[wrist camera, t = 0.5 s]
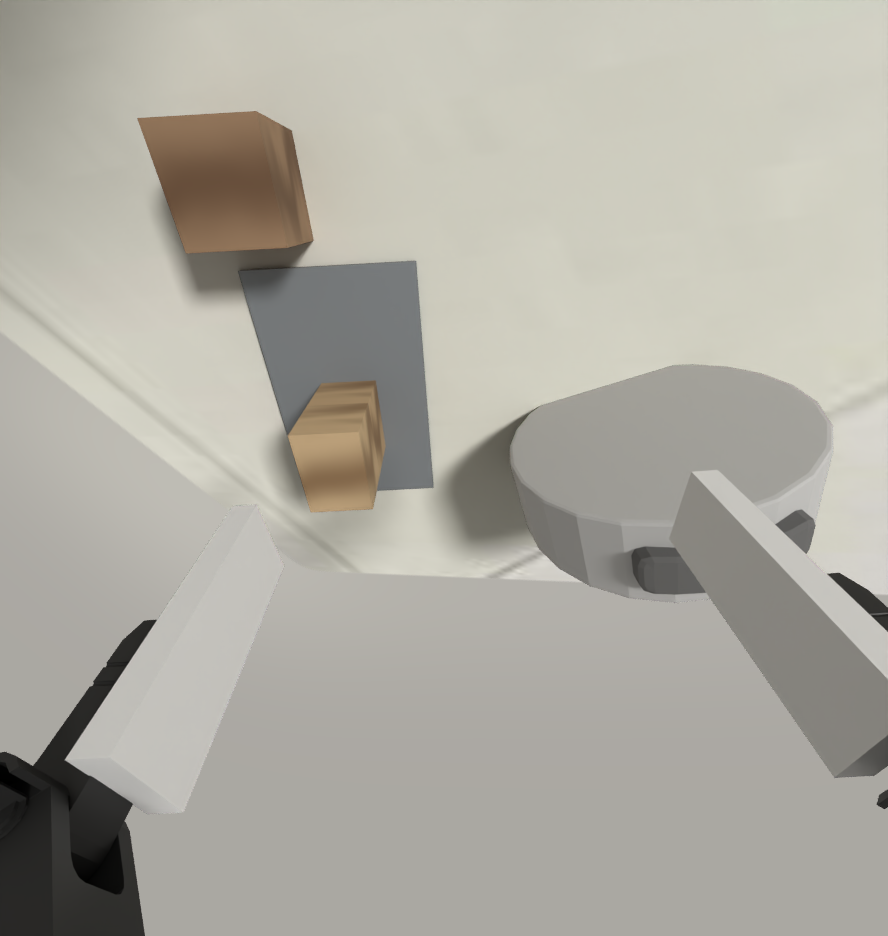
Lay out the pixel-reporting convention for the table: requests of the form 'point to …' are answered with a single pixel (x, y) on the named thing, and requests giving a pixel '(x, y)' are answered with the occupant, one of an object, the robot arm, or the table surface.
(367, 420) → the oak block upper
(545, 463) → the alarm clock
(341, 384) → the oak block lower
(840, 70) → the table surface
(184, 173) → the walnut cube
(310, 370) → the slate mat
